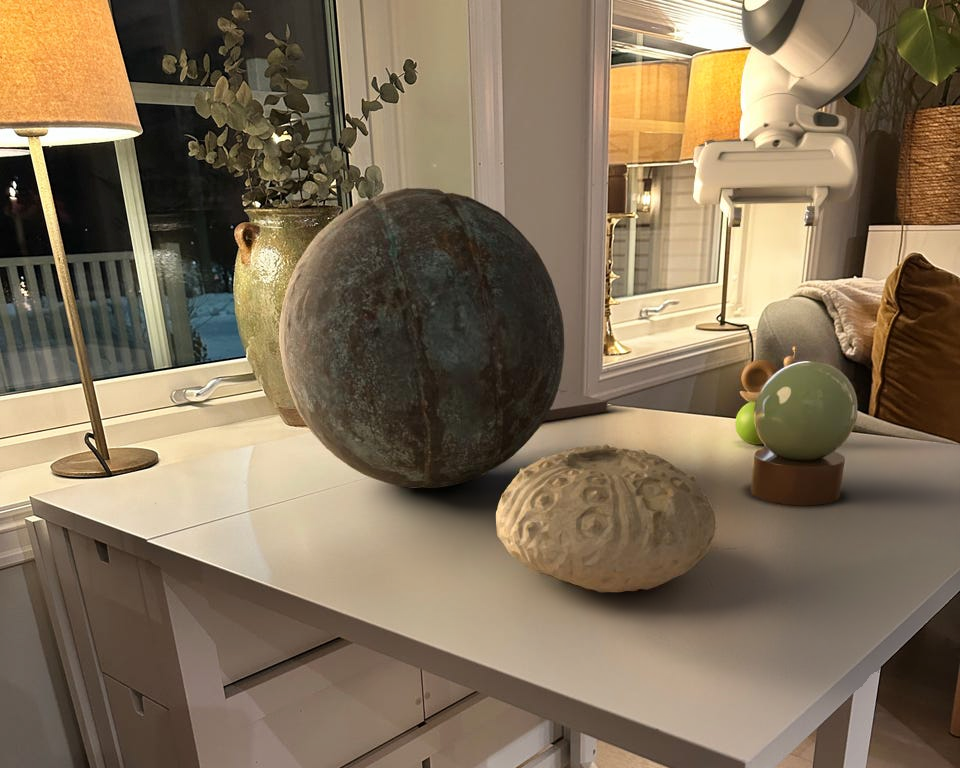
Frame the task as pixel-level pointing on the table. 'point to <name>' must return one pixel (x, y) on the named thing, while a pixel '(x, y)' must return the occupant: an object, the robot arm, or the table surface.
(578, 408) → the notebook
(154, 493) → the table surface
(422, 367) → the metal sphere
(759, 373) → the snail figurine
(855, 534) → the table surface
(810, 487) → the ball stand
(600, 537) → the decorative shell
